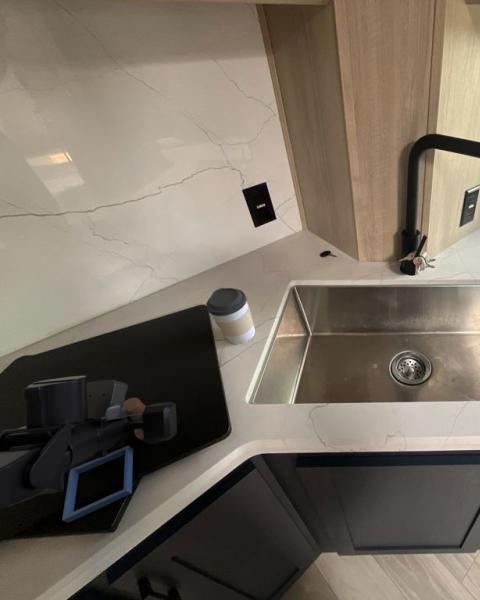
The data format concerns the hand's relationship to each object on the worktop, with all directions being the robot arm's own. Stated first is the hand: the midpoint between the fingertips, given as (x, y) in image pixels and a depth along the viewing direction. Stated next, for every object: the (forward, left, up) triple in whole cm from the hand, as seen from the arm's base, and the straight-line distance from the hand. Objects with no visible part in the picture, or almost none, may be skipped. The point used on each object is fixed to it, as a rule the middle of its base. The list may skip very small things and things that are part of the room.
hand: (147, 412), depth 64 cm
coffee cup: (+19, +19, -7) cm, 28 cm away
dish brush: (-1, -1, -7) cm, 7 cm away
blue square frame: (-10, -7, -7) cm, 14 cm away
